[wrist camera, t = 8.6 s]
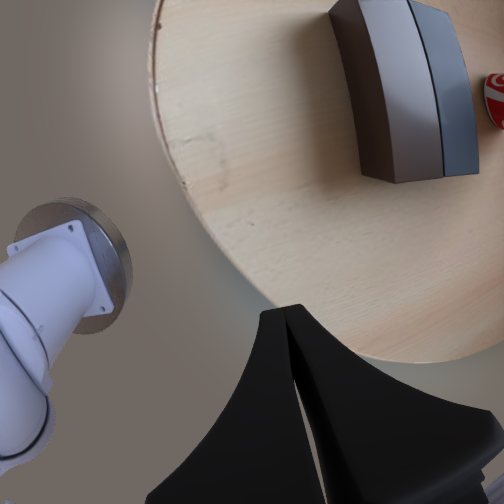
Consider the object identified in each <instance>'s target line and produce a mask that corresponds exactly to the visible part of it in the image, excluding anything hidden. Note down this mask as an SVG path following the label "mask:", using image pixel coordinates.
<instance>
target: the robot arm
mask: <svg viewBox="0 0 504 504" xmlns="http://www.w3.org/2000/svg"><path fill="white" fill-rule="evenodd" d="M70 225H71V226H72V227H73V231H72V230H71V228H70ZM16 246H17V247H16ZM17 248H18V249H17ZM7 252H8V255H9V259H7V260H6V261H5V262H3V263H2V264H0V477H1V476H2V475H3V474H4V473H5V472H6V471H7V470H9V469H10V468H12V467H14V466H16V465H20V464H23V463H26V462H28V461H30V460H32V459H33V458H35V457H37V456H38V455H39V454H40V453H41V452H42V451H43V450H44V449H45V447H46V446H47V444H48V442H49V440H50V438H51V435H52V433H53V429H54V425H55V408H54V406H53V403H52V401H51V400H50V398H49V397H48V396H47V395H48V393H49V391H50V389H51V387H52V385H53V381H52V380H51V378H50V376H49V373H48V372H49V370H50V368H51V367H52V365H53V363H54V361H55V360H56V358H57V356H58V355H59V353H60V352H61V350H62V348H63V347H64V345H65V343H66V342H67V340H68V339H69V337H70V336H71V334H72V332H73V331H74V329H75V328H76V326H77V325H78V323H79V322H80V320H81V319H82V317H89V316H95V315H102V314H108V313H111V312H112V311H113V309H114V306H113V303H112V301H111V299H110V297H109V294H108V292H107V290H106V287H105V285H104V282H103V280H102V277H101V275H100V272H99V270H98V267H97V265H96V262H95V259H94V257H93V254H92V251H91V248H90V245H89V243H88V240H87V237H86V234H85V231H84V227H83V224H82V222H81V221H80V220H78V219H76V220H73V221H70V222H67V223H64V224H62V225H59V226H56V227H53V228H51V229H48V230H45V231H43V232H40V233H38V234H35V235H32V236H30V237H27V238H25V239H22V240H20V241H18V242H15V243H13V244H11V245H9V246H8V247H7ZM102 307H104V308H105V309H102ZM294 380H295V383H296V386H297V389H298V392H299V395H300V398H301V401H302V404H303V407H304V410H305V413H306V416H307V419H308V421H309V424H310V427H311V430H312V433H313V437H314V441H315V445H316V449H317V454H318V458H319V463H320V468H321V473H322V477H323V482H324V487H325V493H326V497H327V503H328V504H504V473H503V474H502V475H501V476H499V477H498V478H497V479H496V480H495V481H493V482H492V483H491V484H489V485H488V486H487V487H486V488H484V489H483V488H482V485H481V482H482V481H484V479H485V477H484V475H483V473H482V471H481V469H482V468H483V467H484V466H485V465H487V464H488V463H489V462H490V461H491V460H492V459H493V458H494V457H495V456H496V455H498V454H499V453H500V452H501V451H502V449H503V448H504V430H503V428H502V427H501V425H500V423H499V422H498V420H497V419H496V418H495V416H494V415H493V414H492V413H491V412H490V411H488V410H483V409H478V408H474V407H469V406H465V405H461V404H457V403H453V402H450V401H447V400H443V399H440V398H438V397H435V396H432V395H429V394H427V393H424V392H422V391H420V390H418V389H415V388H413V387H411V386H409V385H407V384H404V383H402V382H400V381H398V380H396V379H394V378H393V377H391V376H389V375H387V374H385V373H383V372H382V371H380V370H379V369H377V368H375V367H374V366H372V365H371V364H369V363H368V362H366V361H365V360H363V359H362V358H360V357H359V356H358V355H356V354H355V353H354V352H352V351H351V350H350V349H348V348H347V347H346V346H345V345H343V344H342V343H341V342H340V341H339V340H337V339H336V338H335V337H334V336H333V335H332V334H331V333H329V332H328V331H327V330H326V329H325V328H324V327H323V326H322V325H321V324H320V323H319V322H318V321H317V320H316V319H315V318H314V317H313V316H312V315H311V314H310V313H309V312H308V311H307V309H306V308H305V307H304V306H303V305H301V304H296V305H291V306H286V307H281V308H276V309H271V310H265V311H262V313H261V314H260V320H259V327H258V331H257V335H256V339H255V342H254V345H253V348H252V351H251V354H250V357H249V360H248V362H247V365H246V367H245V369H244V372H243V374H242V376H241V379H240V381H239V383H238V385H237V387H236V389H235V391H234V393H233V394H232V397H231V398H230V400H229V402H228V403H227V405H226V407H225V408H224V410H223V411H222V413H221V414H220V416H219V418H218V419H217V421H216V422H215V424H214V425H213V426H212V428H211V429H210V431H209V432H208V433H207V435H206V436H205V437H204V438H203V440H202V441H201V442H200V443H199V444H198V446H197V447H196V448H195V449H194V450H193V451H192V453H191V454H190V455H189V456H188V457H187V458H186V459H185V461H184V462H183V463H182V464H181V465H180V466H179V467H178V468H177V469H176V470H175V471H174V472H173V473H172V474H170V475H169V476H168V477H167V478H166V479H165V480H164V481H163V482H162V483H161V484H159V485H158V486H157V487H156V488H155V489H154V490H153V491H151V492H150V493H149V494H148V495H147V497H146V501H145V504H326V503H325V499H324V496H323V492H322V489H321V485H320V481H319V478H318V474H317V470H316V467H315V463H314V460H313V456H312V452H311V448H310V445H309V441H308V437H307V433H306V429H305V425H304V422H303V418H302V414H301V410H300V406H299V402H298V398H297V394H296V390H295V385H294ZM5 504H14V503H13V502H11V501H9V500H6V501H5Z"/></svg>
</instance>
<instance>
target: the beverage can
mask: <svg viewBox="0 0 504 504" xmlns="http://www.w3.org/2000/svg"><path fill="white" fill-rule="evenodd" d="M484 97H485V103H486V107H487V110H488V113H489V115H490V117H491V119H492V121H493V122H494V123H495V124H496V125H497V127H499V128H500V129H503V130H504V74H490V75H489V76H488V77H487V79H486V81H485V84H484Z"/></svg>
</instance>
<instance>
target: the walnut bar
mask: <svg viewBox="0 0 504 504" xmlns="http://www.w3.org/2000/svg"><path fill="white" fill-rule="evenodd" d="M328 13H329V16H330V19H331V22H332V25H333V29H334V32H335V36H336V39H337V43H338V46H339V50H340V54H341V58H342V62H343V66H344V70H345V74H346V79H347V83H348V88H349V93H350V98H351V103H352V109H353V114H354V120H355V126H356V133H357V140H358V147H359V155H360V163H361V172H362V175H364V176H368V177H372V178H375V179H379V180H383V181H387V182H390V183H394V184H398V183H405V182H413V181H421V180H430V179H438V178H443V161H442V148H441V137H440V128H439V121H438V114H437V107H436V101H435V96H434V91H433V86H432V81H431V76H430V72H429V68H428V64H427V60H426V56H425V53H424V49H423V46H422V42H421V39H420V36H419V33H418V30H417V27H416V24H415V21H414V18H413V16H412V13H411V11H410V8H409V5H408V3H407V1H406V0H338V1H337V3H336V4H335V5H334V6H333V7H332V8H331V9H330V10H329V11H328Z"/></svg>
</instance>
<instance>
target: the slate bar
mask: <svg viewBox="0 0 504 504" xmlns="http://www.w3.org/2000/svg"><path fill="white" fill-rule="evenodd" d="M406 1H407V3H408V5H409V8H410V11H411V13H412V16H413V18H414V21H415V24H416V27H417V30H418V33H419V36H420V39H421V42H422V46H423V49H424V53H425V56H426V60H427V64H428V68H429V72H430V76H431V81H432V86H433V91H434V96H435V101H436V107H437V114H438V121H439V128H440V137H441V148H442V161H443V177H450V176H460V175H471V174H479V152H478V139H477V128H476V120H475V113H474V106H473V100H472V94H471V89H470V84H469V80H468V75H467V71H466V67H465V63H464V59H463V56H462V52H461V49H460V45H459V42H458V39H457V36H456V33H455V30H454V27H453V25H452V22H451V19H450V17H449V14H448V13H445V12H443V11H440V10H438V9H435V8H433V7H430V6H427V5H424V4H421V3H418V2H415V1H412V0H406Z"/></svg>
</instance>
